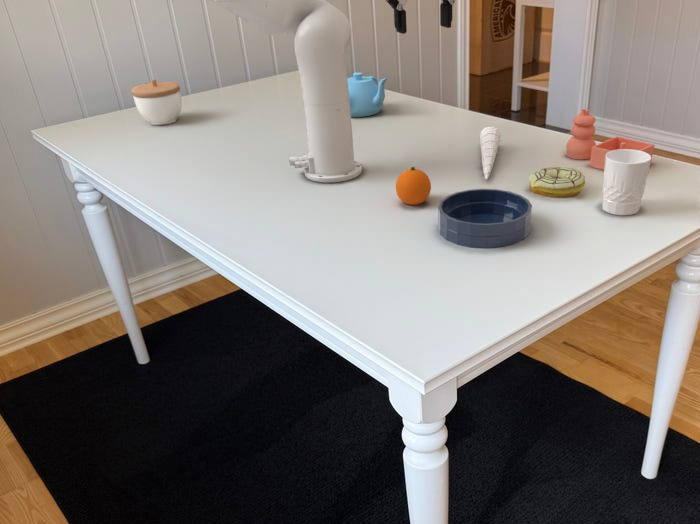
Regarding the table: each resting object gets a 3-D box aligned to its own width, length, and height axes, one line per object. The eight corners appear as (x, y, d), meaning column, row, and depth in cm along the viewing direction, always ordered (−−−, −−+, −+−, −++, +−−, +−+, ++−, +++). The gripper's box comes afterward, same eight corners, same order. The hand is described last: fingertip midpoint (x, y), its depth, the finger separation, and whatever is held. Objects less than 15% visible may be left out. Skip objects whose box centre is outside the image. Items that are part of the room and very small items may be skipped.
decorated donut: (533, 179, 142) (534, 162, 140) (586, 184, 139) (588, 165, 136) (524, 198, 134) (525, 179, 131) (580, 203, 131) (582, 184, 128)
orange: (398, 212, 130) (396, 175, 126) (394, 199, 136) (393, 162, 132) (433, 210, 131) (433, 172, 126) (428, 196, 136) (428, 160, 132)
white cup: (635, 220, 123) (644, 166, 118) (592, 212, 127) (599, 159, 121) (647, 205, 129) (656, 152, 123) (606, 198, 132) (613, 146, 126)
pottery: (651, 164, 147) (659, 117, 141) (626, 175, 141) (634, 127, 136) (580, 147, 158) (585, 103, 152) (555, 157, 153) (559, 112, 147)
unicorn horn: (468, 181, 142) (468, 158, 140) (480, 145, 161) (480, 125, 159) (491, 182, 141) (492, 159, 139) (500, 146, 160) (501, 125, 158)
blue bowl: (446, 254, 115) (446, 228, 112) (432, 216, 128) (432, 192, 125) (540, 247, 116) (542, 220, 113) (517, 210, 129) (518, 185, 126)
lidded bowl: (196, 118, 191) (187, 76, 184) (161, 130, 182) (150, 87, 176) (165, 113, 196) (155, 72, 190) (129, 124, 188) (118, 82, 181)
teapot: (383, 103, 196) (381, 65, 190) (390, 117, 184) (388, 77, 178) (332, 107, 194) (329, 69, 189) (336, 122, 182) (332, 81, 176)
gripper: (453, -79, 127) (453, 22, 137) (369, -73, 122) (375, 32, 131) (474, -78, 122) (472, 27, 132) (387, -72, 116) (391, 38, 126)
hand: (423, 29), depth 131 cm, fingers open, 9 cm apart
